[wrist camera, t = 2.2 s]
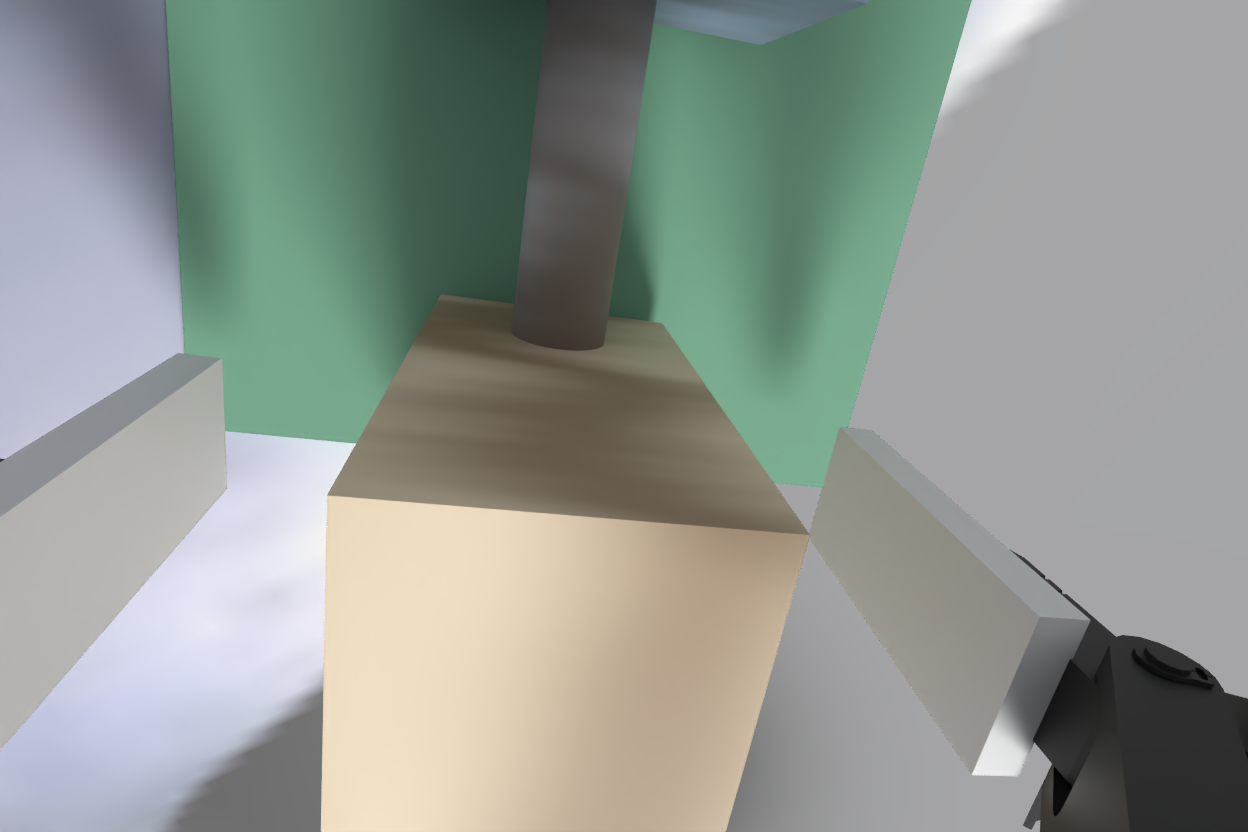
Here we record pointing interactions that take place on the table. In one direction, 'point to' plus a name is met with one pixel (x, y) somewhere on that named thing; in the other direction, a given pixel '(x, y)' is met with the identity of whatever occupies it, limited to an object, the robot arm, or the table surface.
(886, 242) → the pitch mat
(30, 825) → the table surface
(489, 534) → the rod slider
